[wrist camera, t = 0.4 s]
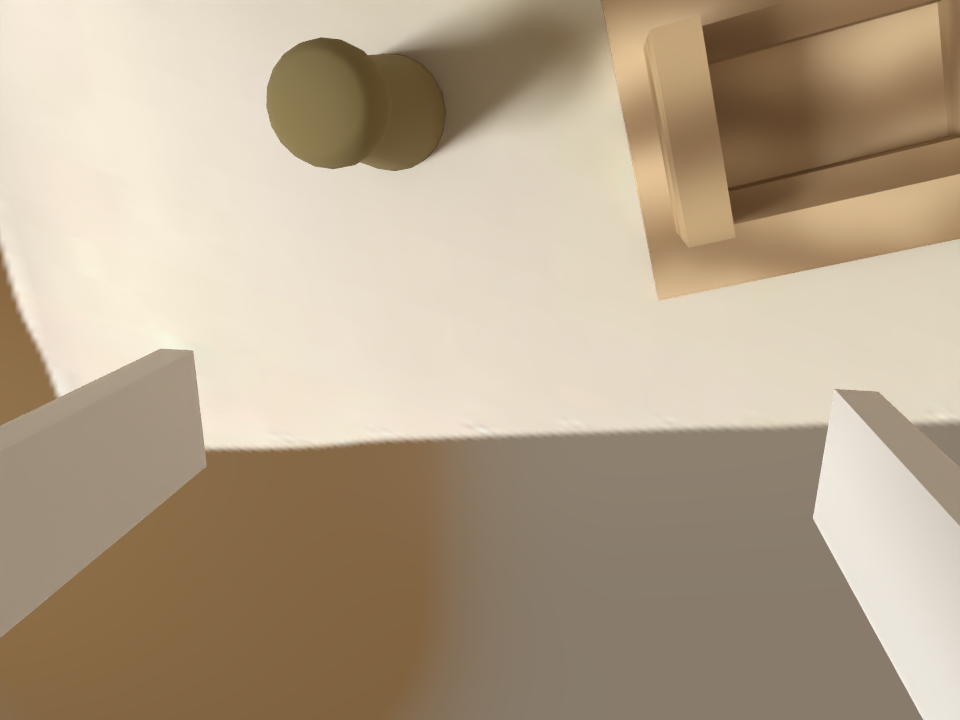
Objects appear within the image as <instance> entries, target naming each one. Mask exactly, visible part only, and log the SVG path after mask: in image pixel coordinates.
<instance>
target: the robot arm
mask: <svg viewBox="0 0 960 720" xmlns="http://www.w3.org/2000/svg"><path fill="white" fill-rule="evenodd" d="M206 466H207V465H206V457H205V448H204V439H203V431H202V422H201V413H200V405H199V396H198V388H197V379H196V371H195V362H194V353H193V351H189V350H173V349H159V350H157V351H155V352H153V353H151V354H149V355H147V356H145V357H143V358H141V359H139V360H136V361H134V362H132V363H130V364H128V365H126V366H124V367H122V368H120V369H118V370H116V371H114V372H111V373H109V374H107V375H105V376H103V377H101V378H99V379H97V380H95V381H93V382H91V383H89V384H87V385H84V386H82V387H80V388H78V389H76V390H74V391H72V392H70V393H68V394H66V395H64V396H62V397H60V398H57V399H55V400H53V401H51V402H49V403H47V404H45V405H43V406H41V407H39V408H37V409H35V410H32V411H31V412H28V413H26V414H24V415H22V416H20V417H18V418H16V419H14V420H12V421H10V422H8V423H6V424H4V425H1V426H0V637H2V636H3V635H4V634H5V633H6V632H7V631H9V630H10V629H11V628H12V627H14V626H15V625H16V624H17V623H18V622H20V621H21V620H22V619H23V618H25V617H26V616H27V615H28V614H29V613H31V612H32V611H33V610H34V609H35V608H37V607H38V606H39V605H40V604H41V603H43V602H44V601H45V600H46V599H47V598H49V597H50V596H51V595H52V594H53V593H55V592H56V591H57V590H58V589H59V588H61V587H62V586H63V585H64V584H65V583H67V582H68V581H69V580H70V579H71V578H72V577H74V576H75V575H76V574H77V573H79V572H80V571H81V570H82V569H83V568H84V567H86V566H87V565H88V564H89V563H90V562H92V561H93V560H94V559H95V558H97V557H98V556H99V555H100V554H101V553H103V552H104V551H105V550H106V549H107V548H108V547H110V546H111V545H112V544H113V543H115V542H116V541H117V540H118V539H120V538H121V537H122V536H123V535H124V534H125V533H127V532H128V531H129V530H130V529H131V528H133V527H134V526H135V525H136V524H137V523H139V522H140V521H141V520H142V519H144V518H145V517H146V516H147V515H148V514H150V513H151V512H152V511H153V510H154V509H156V508H157V507H158V506H159V505H160V504H162V503H163V502H164V501H165V500H166V499H168V498H169V497H170V496H171V495H172V494H174V493H175V492H176V491H177V490H178V489H179V488H181V487H182V486H183V485H184V484H185V483H187V482H188V481H189V480H190V479H191V478H193V477H194V476H195V475H196V474H197V473H199V472H200V471H201V470H202V469H204V468H205V467H206ZM813 519H814V521H815V523H816V525H817V526H818V528H819V530H820V532H821V534H822V536H823V537H824V539H825V541H826V543H827V545H828V546H829V548H830V550H831V552H832V554H833V556H834V557H835V559H836V561H837V563H838V565H839V567H840V568H841V570H842V572H843V574H844V576H845V578H846V579H847V581H848V583H849V585H850V587H851V589H852V590H853V592H854V594H855V596H856V598H857V600H858V601H859V603H860V605H861V607H862V609H863V611H864V612H865V614H866V616H867V618H868V620H869V621H870V623H871V625H872V627H873V629H874V631H875V632H876V634H877V636H878V638H879V640H880V642H881V643H882V645H883V647H884V649H885V651H886V652H887V654H888V656H889V658H890V660H891V661H892V663H893V665H894V667H895V669H896V671H897V673H898V675H899V676H900V678H901V680H902V682H903V684H904V685H905V687H906V689H907V691H908V693H909V695H910V696H911V698H912V700H913V702H914V704H915V706H916V707H917V709H918V711H919V713H920V715H921V716H922V718H923V720H960V468H959V467H958V466H957V465H956V464H955V463H954V462H953V461H952V460H950V458H949V457H947V456H946V455H945V454H944V453H943V452H942V451H941V450H940V449H939V448H938V447H937V446H936V445H934V443H933V442H931V441H930V440H929V439H928V438H927V437H926V436H925V435H924V434H923V433H922V432H921V431H920V430H919V429H917V428H916V427H915V426H914V425H913V424H912V423H911V422H910V421H909V420H908V419H907V418H906V417H905V416H904V415H902V414H901V413H900V412H899V411H898V410H897V409H896V408H895V407H894V406H893V405H892V404H891V403H890V402H889V401H887V400H886V399H885V398H884V397H883V396H882V395H881V394H880V393H879V392H873V391H856V390H840V389H835V391H834V397H833V403H832V409H831V415H830V421H829V426H828V432H827V438H826V444H825V450H824V456H823V462H822V468H821V474H820V480H819V486H818V492H817V498H816V504H815V510H814V516H813Z"/></svg>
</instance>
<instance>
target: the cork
mask: <svg viewBox="0 0 960 720" xmlns="http://www.w3.org/2000/svg"><path fill="white" fill-rule="evenodd" d="M267 110H268V114H269V118H270V122H271V126H272V128H273V130H274V131H275V133H276V135H277V137H278V138H279V140H280V142H281V143H282V144H283V145H284V146H285V147H286V148H287V149H288V150H289V151H290V152H291V153H292V154H293V155H294V156H296V157H297V158H299V159H301V160H303V161H305V162H307V163H309V164H311V165H313V166H316V167H323V168H330V169H336V168H342V167H347V166H352V165H356V164H357V163H359V162H361V163H364V164H367V165H370V166H372V167H375V168H378V169H384V170H391V171H398V170H403V169H408V168H412V167H413V166H415V165H417V164H418V163H420V162H422V161H424V160H425V159H426V158H427V157H428V156H429V155H430V154H431V152H432V151H433V150H434V149H435V148H436V147H437V145H438V142H439V140H440V137H441V135H442V133H443V130H444V122H445V113H446V111H445V106H444V100H443V95H442V92H441V90H440V88H439V86H438V84H437V82H436V80H435V78H434V77H433V76H432V75H431V74H430V73H429V72H428V71H427V70H426V69H425V68H424V67H423V66H422V65H421V64H420V63H418V62H416V61H414V60H412V59H410V58H408V57H406V56H401V55H393V54H379V55H367V54H366V53H365V52H364V51H363V50H361V49H359V48H357V47H355V46H353V45H351V44H349V43H347V42H345V41H342V40H339V39H330V38H322V37H321V38H317V39H313V40H309V41H305V42H302V43H299V44H298V45H296V46H295V47H293V48H292V49H290V50H289V51H287V52H286V53H285V54H284V55H283V56H282V57H281V59H280V60H279V62H278V63H277V64H276V66H275V67H274V68H273V71H272V74H271V77H270V80H269V83H268V86H267Z"/></svg>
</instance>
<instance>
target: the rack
mask: <svg viewBox="0 0 960 720" xmlns="http://www.w3.org/2000/svg"><path fill="white" fill-rule="evenodd" d="M601 2H602V7H603V12H604V17H605V23H606V28H607V33H608V38H609V44H610V49H611V54H612V59H613V65H614V70H615V75H616V80H617V86H618V91H619V96H620V101H621V107H622V112H623V117H624V122H625V128H626V133H627V138H628V143H629V149H630V154H631V159H632V164H633V169H634V175H635V180H636V185H637V190H638V196H639V201H640V206H641V211H642V217H643V222H644V227H645V232H646V238H647V243H648V248H649V253H650V259H651V264H652V269H653V274H654V280H655V285H656V290H657V295H658V299H659V300H664V299H669V298H674V297H678V296H683V295H688V294H693V293H698V292H703V291H708V290H712V289H717V288H722V287H727V286H732V285H737V284H742V283H747V282H751V281H756V280H761V279H766V278H771V277H776V276H781V275H785V274H790V273H795V272H800V271H805V270H810V269H815V268H819V267H824V266H829V265H834V264H839V263H844V262H849V261H853V260H858V259H863V258H868V257H873V256H878V255H883V254H887V253H892V252H897V251H902V250H907V249H912V248H917V247H921V246H926V245H931V244H936V243H941V242H946V241H951V240H955V239H960V0H601Z"/></svg>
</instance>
